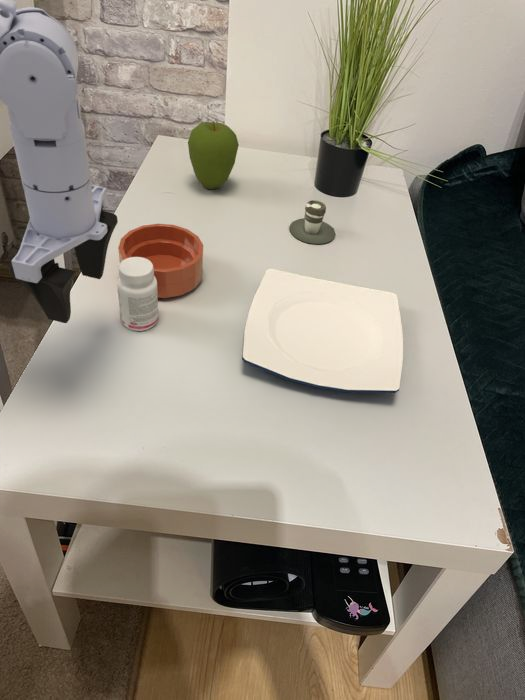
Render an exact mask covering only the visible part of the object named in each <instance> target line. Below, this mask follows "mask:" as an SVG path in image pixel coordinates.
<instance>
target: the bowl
mask: <svg viewBox="0 0 525 700" xmlns="http://www.w3.org/2000/svg"><path fill="white" fill-rule="evenodd" d="M130 257H142V258H146V259H148V260H149V261H151V263H152V264H153V270H154V276H155V278H156V280H157V296H158V298H161V299H169V298H173V297H180V296H183V295H185V294H187V293H189V292H191V291H193V290H194V289H196V288H197V286H198V285H199V284H200V282H202V279H203V264H204V243H203V242H202V241H201V238H200V237H199V236H198V235H197V234H195V233H194V232H192V231H191V230H189V229H187V228H185V227H182V226H178V225H176V224H169V223H168V224H167V223H152V224H145V225H140V226H138V227H135V228H133V229H130V230H128V232H127V233H125V235H123V236H122V237H121V238H120V241H119V244H118V258H119V259H118V260H119V264H120V263H121V262H122V261H123V260H125V259H127V258H130Z"/></svg>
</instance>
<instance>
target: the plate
mask: <svg viewBox="0 0 525 700" xmlns="http://www.w3.org/2000/svg"><path fill="white" fill-rule="evenodd" d="M399 305H400V304H399V299H398V294H396V293H395V292H391V291H385V290H380V289H375V288H369V287H363V286H358V285H352V284H347V283H343V282H337V281H332V280H327V279H323V278H318V277H312V276H308V275H302V274H297V273H293V272H288V271H283V270H278V269H274V268H267V269H266V271H265V273H264V275H263V277H262V279H261V282H260V283H259V286H258V288H257V289H256V292H255V294H254V296H253V299H252V302H251V304H250V307H249V311H248V313H247V317H246V322H245V327H244V331H243V345H242V354H241V355H242V356H241V359H242V361H243V362H244V363H245V364H248V365H250V366H252V367H255V368H257V369H260V370H263V371H264V372H267V373H269V374H272V375H275V376H277V377H280V378H282V379H284V380H287V381H290V382H293V383H294V382H295V383H298V384H302V385H306V386H311V387H314V388H318V389H325V390H332V391H337V392H344V393H375V394H377V393H378V394H379V393H380V394H396V393H398V392H399V390H400V385H401V380H402V379H401V378H402V371H403V364H404V335H403V325H402V318H401V311H400V306H399Z"/></svg>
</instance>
